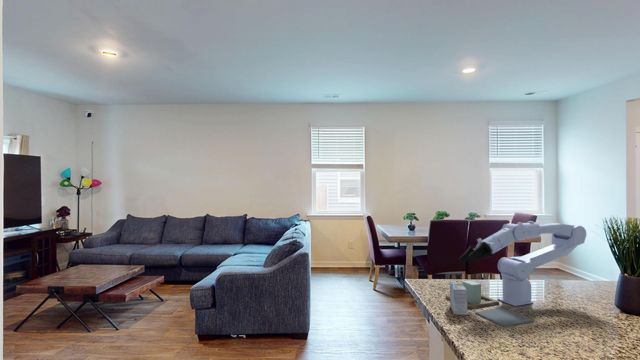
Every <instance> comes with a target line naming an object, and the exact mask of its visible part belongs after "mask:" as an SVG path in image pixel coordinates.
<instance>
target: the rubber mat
mask: <svg viewBox="0 0 640 360" xmlns="http://www.w3.org/2000/svg"><path fill="white" fill-rule="evenodd" d="M474 313H475V315H477V316H479V317H482V318H483V319H487V320H488V321H491V322H492V323H494V324H497V325H498V326H500V327H503V328H510V327H515V326H520V325H524V324H530V323H534V320H533V319H532V318H528V317H526V316H524V315H521V314H520V313H517V312H514V311H511V310H509V309H507V308H504V307H497V308H491V309H486V310H480V311H475V312H474Z"/></svg>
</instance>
